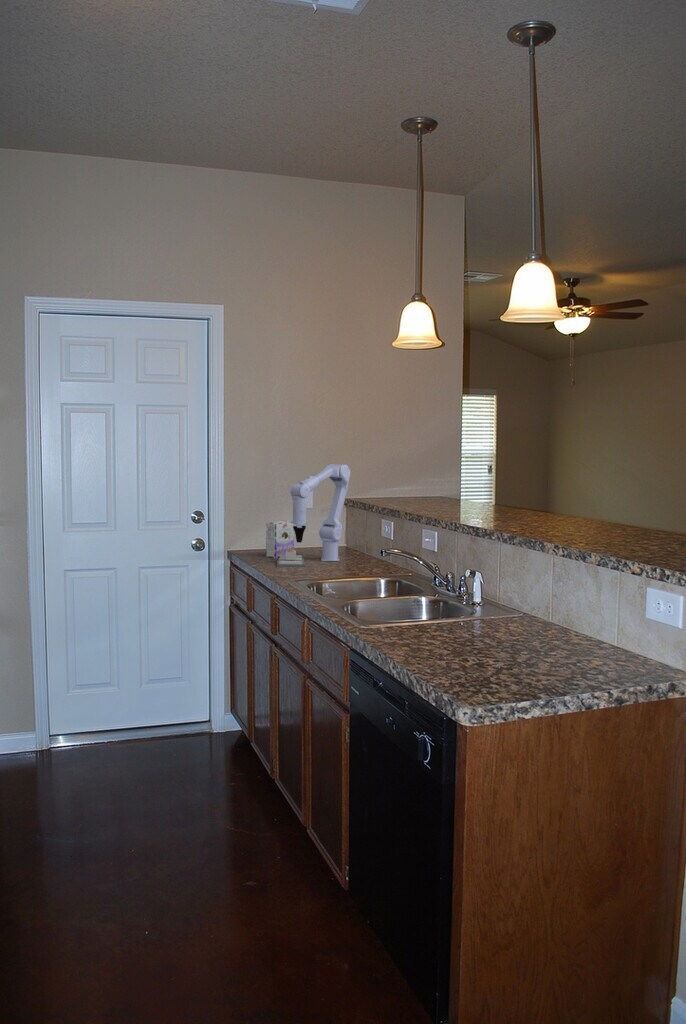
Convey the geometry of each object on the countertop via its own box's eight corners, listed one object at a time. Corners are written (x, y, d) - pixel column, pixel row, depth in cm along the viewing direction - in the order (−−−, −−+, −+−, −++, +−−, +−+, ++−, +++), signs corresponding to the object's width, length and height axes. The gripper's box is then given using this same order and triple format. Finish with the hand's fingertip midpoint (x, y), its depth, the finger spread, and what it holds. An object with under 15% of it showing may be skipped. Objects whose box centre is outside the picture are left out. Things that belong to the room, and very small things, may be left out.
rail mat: (277, 559, 362) (277, 555, 362) (303, 560, 363) (304, 555, 363) (276, 566, 344) (277, 561, 344) (304, 566, 345) (304, 561, 345)
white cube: (285, 558, 359) (286, 548, 358) (295, 558, 359) (295, 548, 359) (285, 559, 354) (286, 550, 354) (295, 559, 355) (295, 550, 354)
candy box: (284, 554, 381) (285, 519, 380) (294, 555, 378) (294, 520, 376) (265, 557, 370) (266, 521, 369) (275, 558, 367) (275, 522, 365)
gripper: (290, 509, 355) (290, 540, 357) (290, 513, 341) (289, 544, 342) (306, 510, 356) (305, 540, 357) (306, 513, 341) (306, 544, 343)
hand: (299, 542), depth 350 cm, fingers closed
